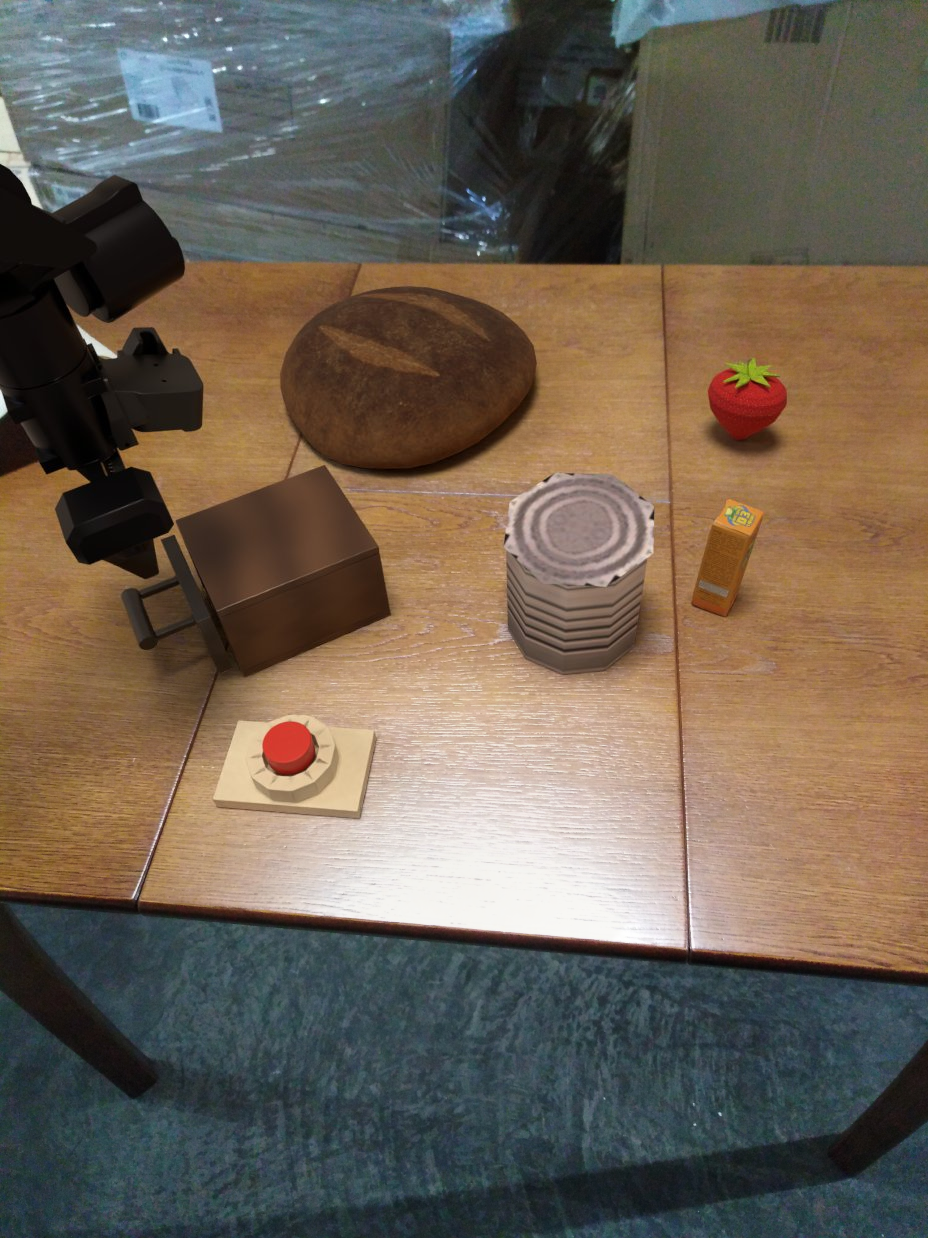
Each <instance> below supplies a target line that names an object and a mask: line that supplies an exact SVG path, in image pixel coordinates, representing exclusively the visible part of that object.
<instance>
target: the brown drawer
mask: <svg viewBox="0 0 928 1238" xmlns="http://www.w3.org/2000/svg"><path fill="white" fill-rule="evenodd" d="M160 542H161V544H162V547H163V549H164V551H165V554H166V556H167V559H168V560H169V563H170V565H171V568H172V570H173V572H174V575H175V576H173V577H170V578H168V579H165V580H162V581H160V582H157V583H154V584H152V585H150V586H147V587H145V588H142V589H140V590H139V589H137V588H135V587H128V588H125V589H124V590H123V591H122V592H121V595H120V599H121V602H122V605H123V606H124V609H125V612H126V616H127V618H128V620H129V624H130V625H131V628H132V631H133V634H134V637H135V639H136V642H137V645H138V647H139V649H141V650H142V651H152V650H153V649H155V648H156V647H157V646H158V645H159V641H160V640H163V639H166V638H167V637H170V636H173V635H175V634H178V633H181V632H183V631H185V630H187V629H190V628H192V627H195V626H197V627H198V630H199V632H200V634H201V636H202V639H203V641H204V642H205V645H206V647H207V650H208V652H209V655H210V656H211V657H210V658H211V659H212V661H213V663H214V666H215V668H216V670H217V672H218V674H219V675H222V674H224V673H226V672H228V671H231V670H233V669H234V666H233V665H232V662H231V660H230V657H229V655H228V653H227V651H226V648H225V646H224V643H223V641H222V639H221V636H220V633H219V631H218V628H217V627H216V624H215V622H214V620H213V617H212V615H211V613H210V611H209V608H208V606H207V604H206V602H205V599H204V597H203V595H202V592H201V591H200V589H199V586H198V584H197V582H196V580H195V577H194V575H193V572H192V571H191V568H190V566H189V563H188V562H187V559H186V557H185V555H184V553H183V551H182V548H181V547H180V544H179V541H178V539H177V537H176V535H175V534H171V535H168V536H166V537H163V538H160ZM178 586H180V588H181V591H182V594H183V595H184V597H185V600H186V603H187V604H188V607H189V609H190V612H191V613H192V614H191V615H190V616H189V617H187V618H184V619H181V620H179V621H176V622H174V623H171V624H169V625H167V626H164V627H161V628H159V629H156V630H155V628H154V626H153V623H152V621H151V618H150V616H149V614H148V613H149V612H148V611H147V608H146V605H145V602H144V601H143V600H144V599H145V600H146V599H148V598H151V597H152V596H156V595H157V594H160V593H163V592H165V591H167V590H170V589H173V588H176V587H178Z"/></svg>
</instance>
